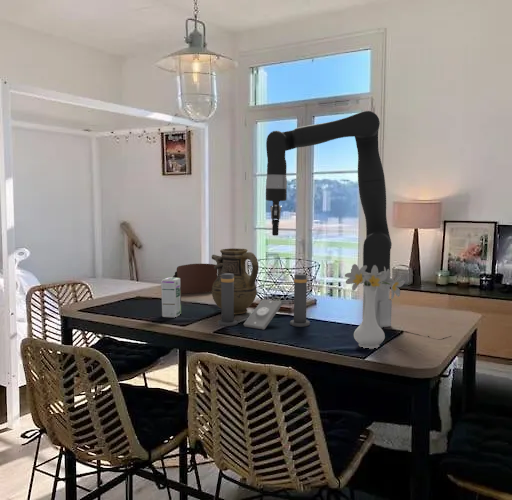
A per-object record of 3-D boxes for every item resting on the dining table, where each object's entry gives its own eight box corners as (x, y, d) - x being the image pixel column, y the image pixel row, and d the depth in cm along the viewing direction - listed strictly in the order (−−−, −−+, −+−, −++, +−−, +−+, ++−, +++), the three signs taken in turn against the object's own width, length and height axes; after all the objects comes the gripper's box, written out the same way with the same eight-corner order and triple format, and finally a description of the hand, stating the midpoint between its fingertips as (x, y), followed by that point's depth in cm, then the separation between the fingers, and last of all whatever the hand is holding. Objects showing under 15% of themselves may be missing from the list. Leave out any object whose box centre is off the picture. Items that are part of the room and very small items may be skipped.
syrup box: (176, 317, 201) (175, 279, 199) (161, 317, 202) (161, 279, 201) (181, 314, 206) (181, 277, 205) (167, 313, 208) (166, 276, 206)
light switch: (242, 322, 187) (261, 296, 197) (246, 334, 190) (265, 309, 200) (262, 325, 183) (281, 299, 193) (267, 338, 186) (285, 312, 196)
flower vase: (395, 356, 153) (397, 270, 151) (335, 347, 162) (336, 265, 160) (407, 345, 164) (410, 265, 162) (350, 337, 174) (352, 261, 171)
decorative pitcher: (269, 312, 211) (270, 249, 209) (243, 320, 197) (243, 253, 194) (226, 305, 224) (226, 246, 221) (198, 313, 209) (198, 249, 207)
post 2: (313, 325, 190) (314, 275, 189) (298, 327, 186) (299, 276, 185) (301, 321, 196) (301, 272, 194) (286, 323, 192) (286, 274, 190)
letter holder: (217, 292, 256) (217, 263, 255) (177, 294, 250) (176, 264, 248) (212, 288, 266) (212, 260, 264) (172, 291, 259) (172, 262, 257)
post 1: (241, 324, 191) (241, 274, 189) (224, 327, 187) (224, 276, 185) (230, 320, 197) (230, 272, 195) (214, 323, 192) (214, 273, 191)
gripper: (286, 187, 186) (285, 237, 188) (286, 188, 199) (285, 234, 201) (265, 187, 187) (264, 236, 188) (266, 187, 200) (265, 233, 201)
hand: (275, 235), depth 195 cm, fingers closed
